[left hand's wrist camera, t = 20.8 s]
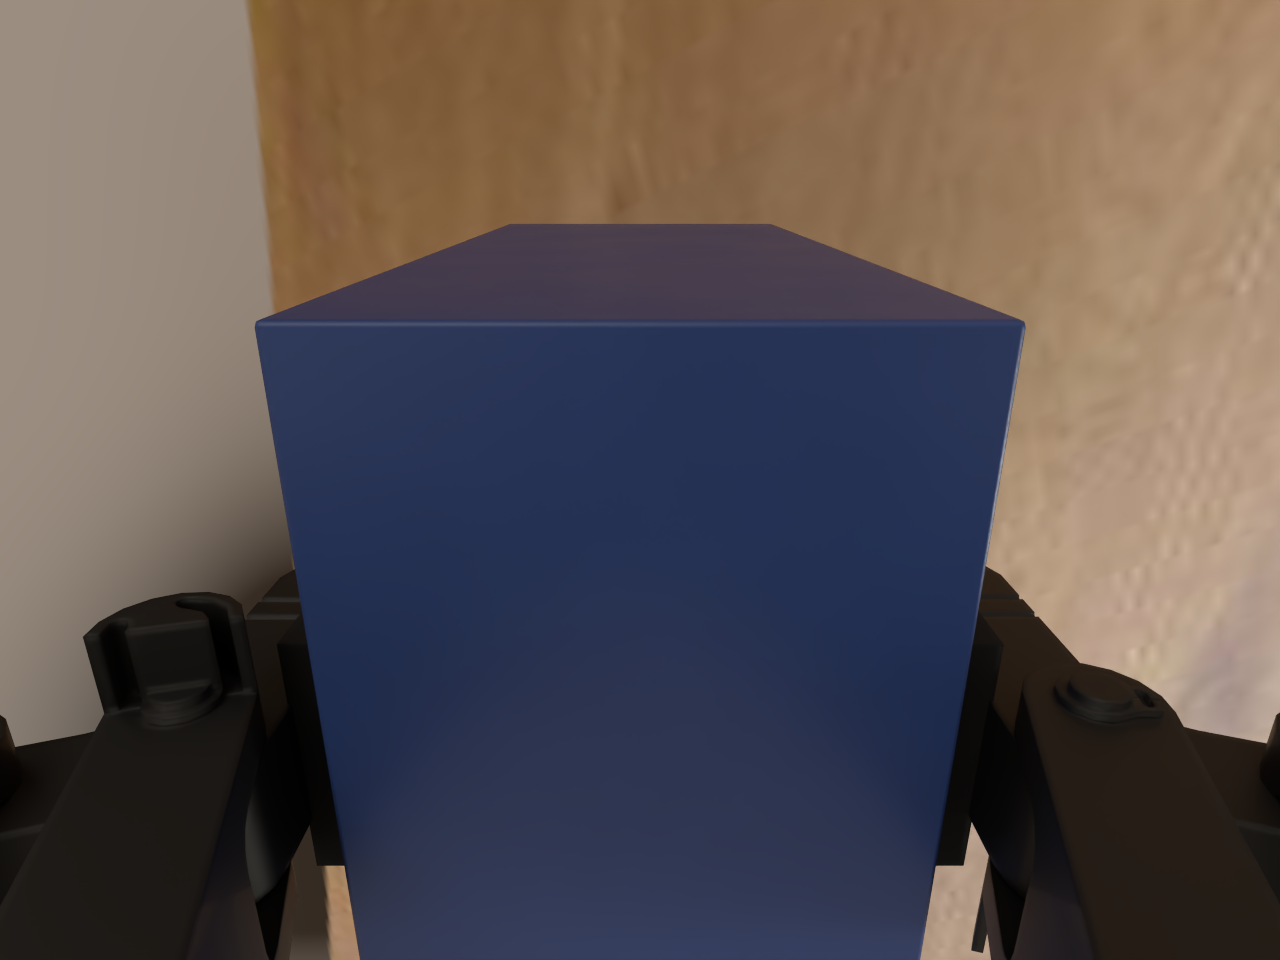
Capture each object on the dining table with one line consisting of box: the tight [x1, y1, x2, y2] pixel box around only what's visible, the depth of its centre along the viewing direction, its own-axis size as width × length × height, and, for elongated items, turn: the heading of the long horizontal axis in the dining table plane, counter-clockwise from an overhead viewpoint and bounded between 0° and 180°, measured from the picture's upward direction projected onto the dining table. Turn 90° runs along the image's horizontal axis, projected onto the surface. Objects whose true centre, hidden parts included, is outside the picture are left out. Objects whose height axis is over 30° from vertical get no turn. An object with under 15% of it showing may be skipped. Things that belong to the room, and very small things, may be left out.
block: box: [255, 224, 1025, 960], centre depth 13 cm, size 9×5×12 cm, turn 0°
